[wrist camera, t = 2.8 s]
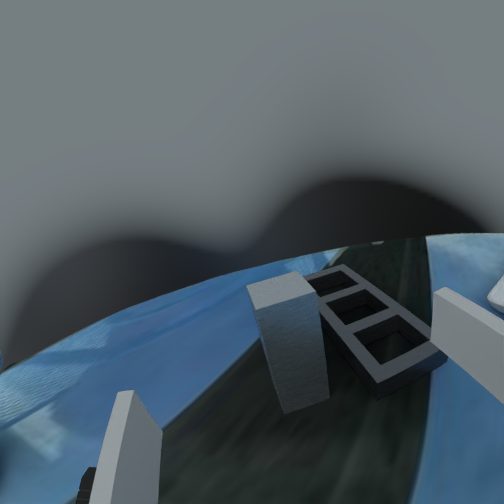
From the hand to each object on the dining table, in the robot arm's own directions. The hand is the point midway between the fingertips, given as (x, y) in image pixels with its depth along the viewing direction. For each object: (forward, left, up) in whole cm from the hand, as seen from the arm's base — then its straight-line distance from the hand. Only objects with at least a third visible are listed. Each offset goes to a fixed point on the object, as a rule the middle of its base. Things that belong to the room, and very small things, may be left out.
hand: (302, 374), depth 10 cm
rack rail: (+12, +20, -14) cm, 27 cm away
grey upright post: (+2, +12, -14) cm, 19 cm away
